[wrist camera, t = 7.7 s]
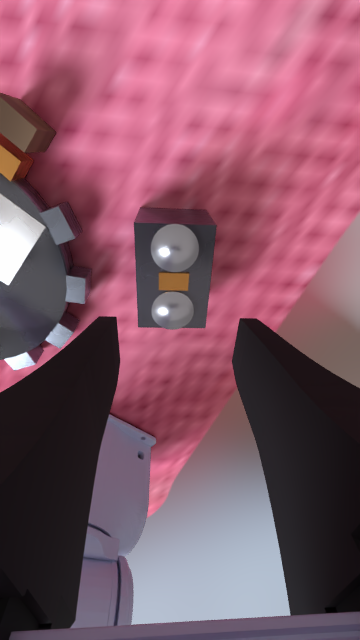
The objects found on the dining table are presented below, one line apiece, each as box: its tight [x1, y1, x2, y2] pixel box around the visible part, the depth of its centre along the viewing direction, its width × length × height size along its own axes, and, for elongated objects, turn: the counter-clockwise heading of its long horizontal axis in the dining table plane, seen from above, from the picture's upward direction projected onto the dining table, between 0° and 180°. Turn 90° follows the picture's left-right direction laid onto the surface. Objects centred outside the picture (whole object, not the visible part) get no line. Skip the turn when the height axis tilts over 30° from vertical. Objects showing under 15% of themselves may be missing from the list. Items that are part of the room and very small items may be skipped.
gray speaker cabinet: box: [134, 207, 217, 330], centre depth 17 cm, size 6×4×4 cm, turn 177°
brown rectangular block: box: [0, 93, 56, 153], centre depth 13 cm, size 2×1×3 cm, turn 47°
